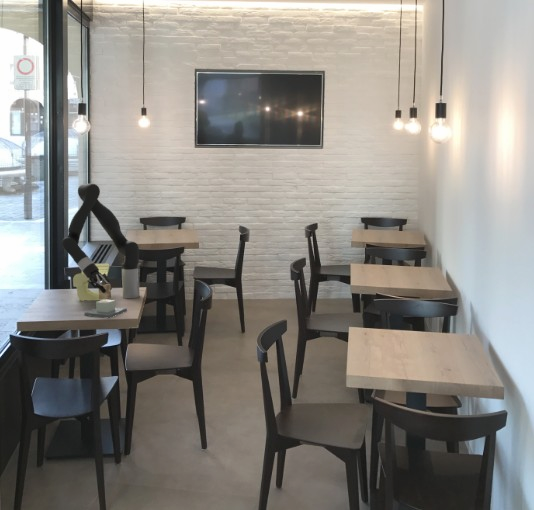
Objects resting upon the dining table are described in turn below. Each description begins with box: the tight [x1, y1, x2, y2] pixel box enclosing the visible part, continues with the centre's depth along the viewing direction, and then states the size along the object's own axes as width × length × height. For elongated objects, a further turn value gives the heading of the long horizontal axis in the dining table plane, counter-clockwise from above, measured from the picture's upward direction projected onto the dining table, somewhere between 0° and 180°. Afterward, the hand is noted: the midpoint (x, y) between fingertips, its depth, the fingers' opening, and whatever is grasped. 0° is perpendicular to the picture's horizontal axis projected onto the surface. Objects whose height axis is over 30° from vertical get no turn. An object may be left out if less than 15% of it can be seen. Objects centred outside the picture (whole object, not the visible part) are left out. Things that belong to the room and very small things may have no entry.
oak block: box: [98, 282, 112, 300], centre depth 383 cm, size 4×4×8 cm
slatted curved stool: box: [72, 263, 110, 302], centre depth 419 cm, size 30×16×18 cm, turn 4°
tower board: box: [83, 299, 128, 319], centre depth 385 cm, size 16×16×7 cm
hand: (107, 290), depth 383 cm, fingers closed on oak block, 4 cm apart
